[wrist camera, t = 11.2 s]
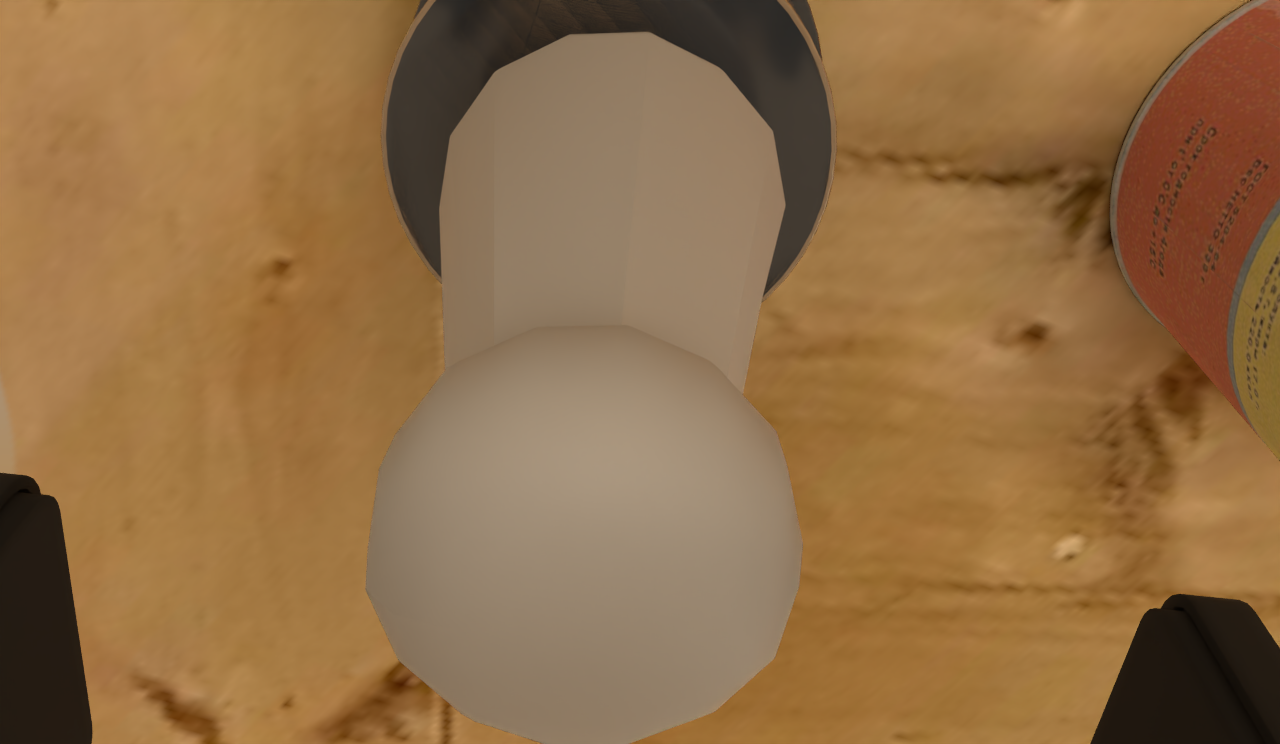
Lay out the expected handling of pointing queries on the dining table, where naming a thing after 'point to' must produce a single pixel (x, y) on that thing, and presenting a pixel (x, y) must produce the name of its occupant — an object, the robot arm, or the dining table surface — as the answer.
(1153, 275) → the canned food
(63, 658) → the robot arm
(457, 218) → the salt shaker
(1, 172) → the dining table surface
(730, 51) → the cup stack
